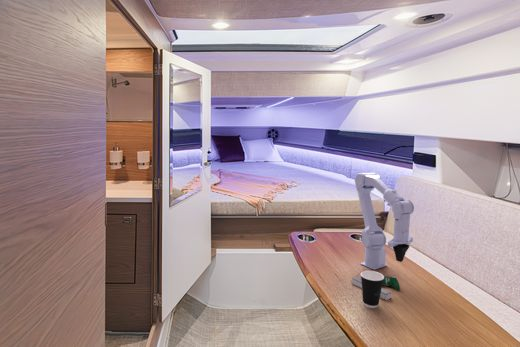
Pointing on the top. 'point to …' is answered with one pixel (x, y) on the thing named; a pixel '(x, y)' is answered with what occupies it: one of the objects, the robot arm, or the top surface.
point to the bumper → (384, 293)
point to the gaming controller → (391, 282)
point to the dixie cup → (371, 288)
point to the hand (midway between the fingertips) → (399, 260)
